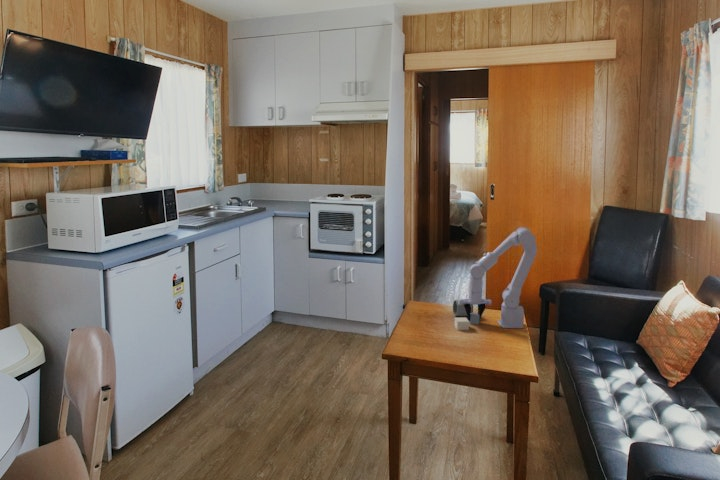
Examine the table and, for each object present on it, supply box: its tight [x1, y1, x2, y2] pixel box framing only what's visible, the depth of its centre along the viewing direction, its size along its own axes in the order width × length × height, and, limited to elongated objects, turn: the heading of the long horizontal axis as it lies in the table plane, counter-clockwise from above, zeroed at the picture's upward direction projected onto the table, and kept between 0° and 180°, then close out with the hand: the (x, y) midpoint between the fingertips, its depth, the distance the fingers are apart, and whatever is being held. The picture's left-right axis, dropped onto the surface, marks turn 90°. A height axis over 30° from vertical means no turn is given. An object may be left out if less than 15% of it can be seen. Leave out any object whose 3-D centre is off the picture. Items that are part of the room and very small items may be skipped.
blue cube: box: [469, 312, 481, 325], centre depth 229 cm, size 4×4×4 cm
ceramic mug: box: [452, 299, 474, 317], centre depth 239 cm, size 11×8×8 cm
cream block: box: [453, 316, 470, 331], centre depth 223 cm, size 5×5×4 cm
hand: (473, 319), depth 229 cm, fingers closed on blue cube, 4 cm apart
